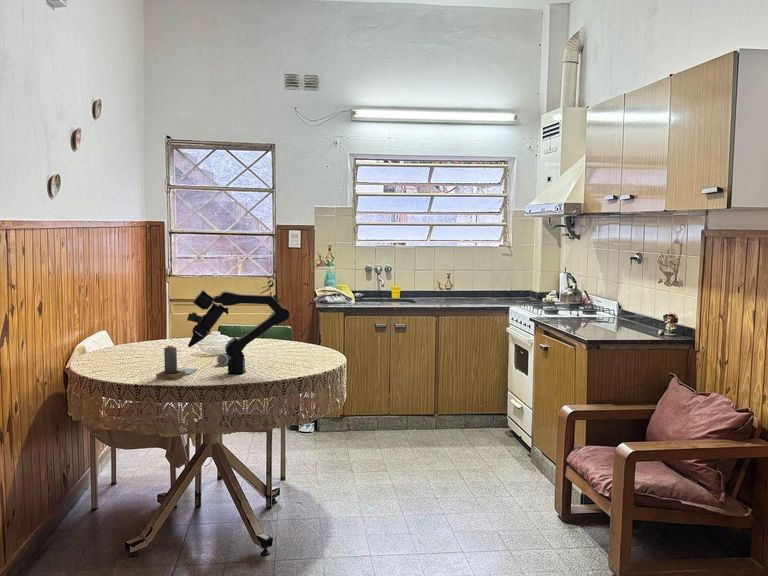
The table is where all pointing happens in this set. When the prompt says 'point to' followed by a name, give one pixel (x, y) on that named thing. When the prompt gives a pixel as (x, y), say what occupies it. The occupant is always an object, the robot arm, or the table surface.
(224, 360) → the flashlight
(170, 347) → the grey jar with lid
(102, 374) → the table surface
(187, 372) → the mat
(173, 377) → the brown square frame
